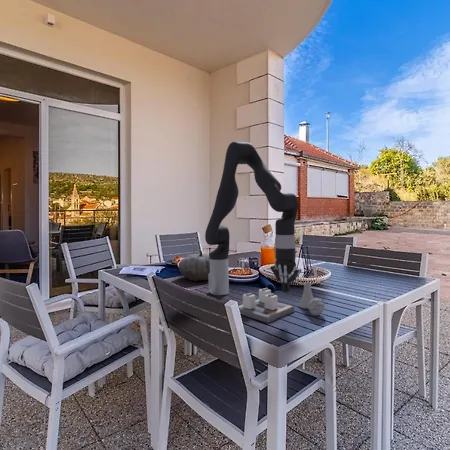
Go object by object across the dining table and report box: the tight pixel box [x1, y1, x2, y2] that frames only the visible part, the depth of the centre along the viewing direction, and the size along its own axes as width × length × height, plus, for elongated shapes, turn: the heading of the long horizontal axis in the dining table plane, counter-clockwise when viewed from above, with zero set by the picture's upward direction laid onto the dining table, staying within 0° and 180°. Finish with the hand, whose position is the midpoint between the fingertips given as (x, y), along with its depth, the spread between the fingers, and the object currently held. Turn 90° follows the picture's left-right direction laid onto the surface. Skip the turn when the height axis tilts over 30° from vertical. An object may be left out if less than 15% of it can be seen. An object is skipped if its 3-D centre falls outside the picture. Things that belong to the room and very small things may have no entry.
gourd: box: [178, 250, 210, 282], centre depth 189 cm, size 25×25×17 cm
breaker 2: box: [258, 287, 272, 303], centre depth 136 cm, size 4×3×6 cm
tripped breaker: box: [264, 292, 279, 310], centre depth 127 cm, size 4×3×6 cm
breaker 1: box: [242, 292, 257, 309], centre depth 129 cm, size 4×3×6 cm
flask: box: [298, 282, 314, 310], centre depth 135 cm, size 7×7×10 cm
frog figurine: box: [308, 297, 325, 317], centre depth 124 cm, size 6×7×7 cm
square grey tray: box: [238, 298, 295, 323], centre depth 130 cm, size 17×17×2 cm
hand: (285, 292), depth 122 cm, fingers closed
